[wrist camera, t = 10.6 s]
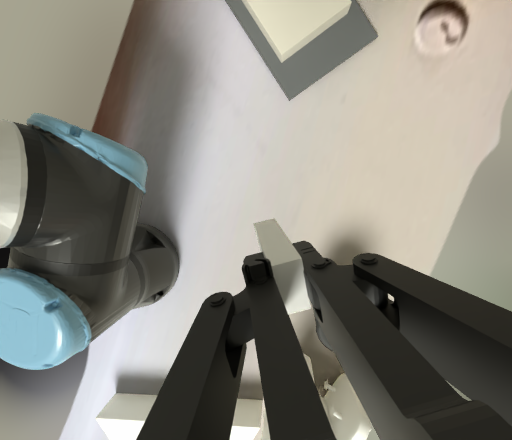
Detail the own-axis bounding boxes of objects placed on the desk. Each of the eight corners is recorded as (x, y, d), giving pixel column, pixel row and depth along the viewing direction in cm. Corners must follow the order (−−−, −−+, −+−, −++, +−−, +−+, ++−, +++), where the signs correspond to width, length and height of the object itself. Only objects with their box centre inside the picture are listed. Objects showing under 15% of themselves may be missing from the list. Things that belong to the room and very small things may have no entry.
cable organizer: (304, 342, 46) (311, 392, 35) (354, 372, 46) (378, 433, 34) (263, 403, 48) (257, 469, 37) (310, 432, 48) (319, 508, 37)
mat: (376, 37, 39) (377, 36, 39) (289, 100, 42) (289, 99, 41) (306, -76, 39) (307, -79, 38) (221, -5, 41) (221, -8, 40)
